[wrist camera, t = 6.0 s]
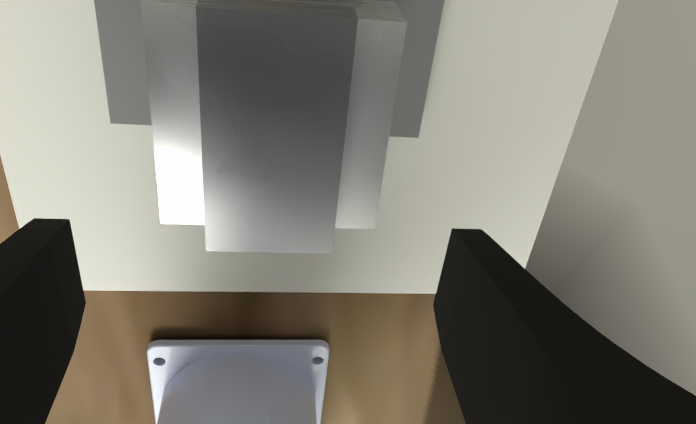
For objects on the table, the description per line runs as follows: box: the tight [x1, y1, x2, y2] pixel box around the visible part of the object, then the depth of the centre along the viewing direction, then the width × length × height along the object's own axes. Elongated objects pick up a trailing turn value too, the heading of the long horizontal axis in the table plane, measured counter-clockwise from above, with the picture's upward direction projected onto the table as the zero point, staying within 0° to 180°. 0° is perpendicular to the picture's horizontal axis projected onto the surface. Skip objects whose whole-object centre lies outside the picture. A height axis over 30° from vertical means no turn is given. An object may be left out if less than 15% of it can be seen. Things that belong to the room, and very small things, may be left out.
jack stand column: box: [141, 0, 407, 254], centre depth 11 cm, size 4×4×7 cm
